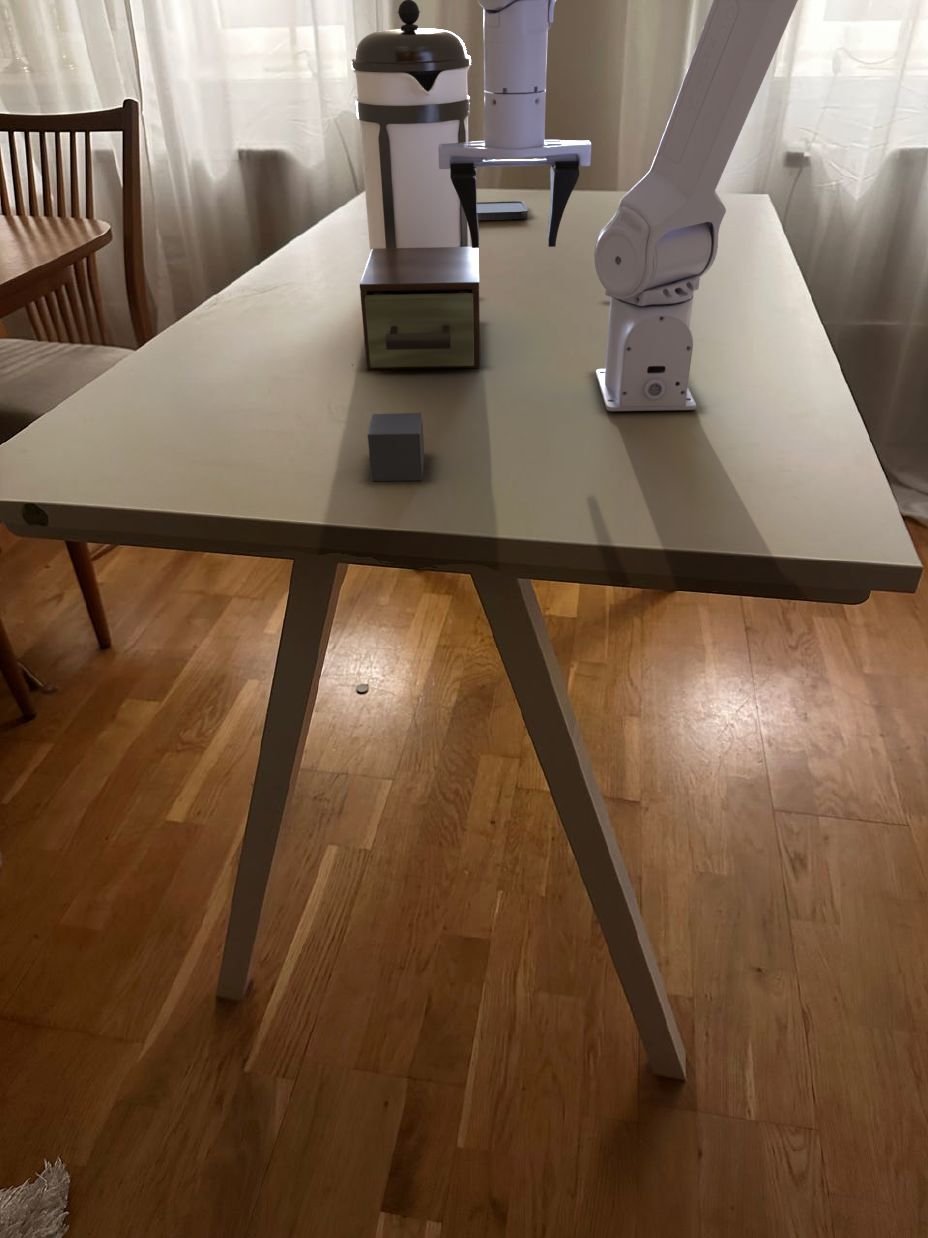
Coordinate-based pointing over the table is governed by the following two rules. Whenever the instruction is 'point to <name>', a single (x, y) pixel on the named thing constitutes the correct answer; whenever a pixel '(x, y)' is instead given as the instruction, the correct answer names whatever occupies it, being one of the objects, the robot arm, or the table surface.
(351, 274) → the table surface
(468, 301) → the drawer
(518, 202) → the phone
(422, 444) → the block
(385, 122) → the coffee press
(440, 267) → the cabinet
